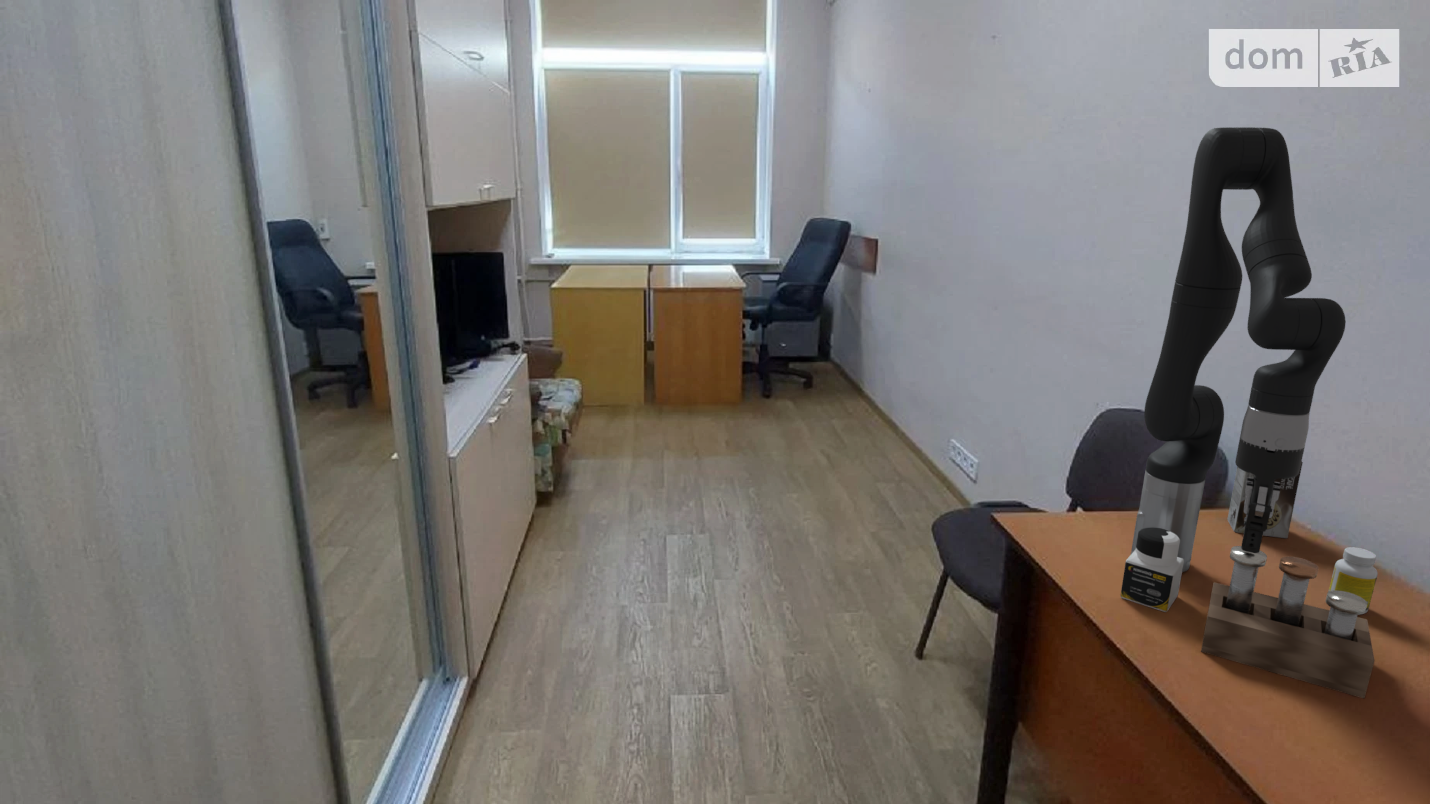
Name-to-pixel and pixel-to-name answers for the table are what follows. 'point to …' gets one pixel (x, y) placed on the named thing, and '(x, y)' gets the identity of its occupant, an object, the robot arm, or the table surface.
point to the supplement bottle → (1355, 573)
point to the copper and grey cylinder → (1293, 589)
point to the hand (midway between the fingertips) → (1249, 550)
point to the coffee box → (1282, 508)
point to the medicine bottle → (1153, 569)
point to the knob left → (1243, 578)
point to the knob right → (1343, 613)
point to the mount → (1289, 643)
